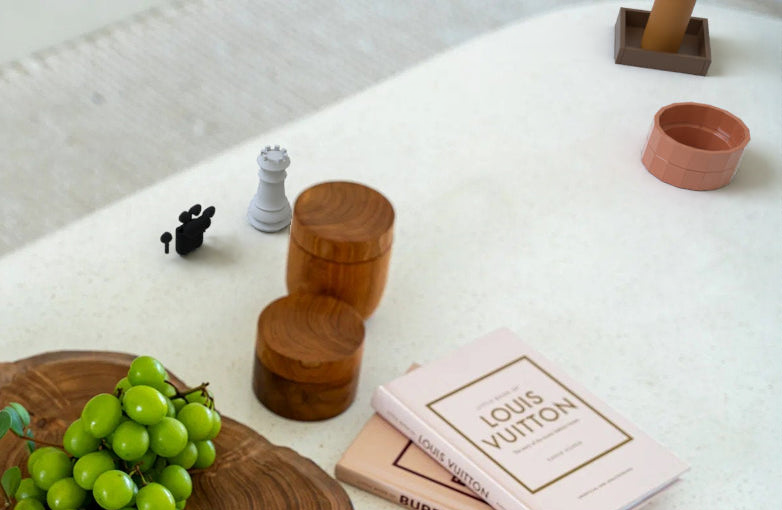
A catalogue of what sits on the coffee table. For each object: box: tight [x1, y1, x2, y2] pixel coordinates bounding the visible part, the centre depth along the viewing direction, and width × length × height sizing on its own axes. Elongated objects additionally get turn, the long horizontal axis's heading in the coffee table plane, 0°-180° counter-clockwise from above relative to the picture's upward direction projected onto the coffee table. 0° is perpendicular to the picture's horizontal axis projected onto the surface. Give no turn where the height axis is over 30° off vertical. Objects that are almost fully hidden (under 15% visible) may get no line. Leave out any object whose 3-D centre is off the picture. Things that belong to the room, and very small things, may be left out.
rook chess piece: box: [246, 144, 292, 233], centre depth 111 cm, size 4×4×8 cm
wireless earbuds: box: [159, 203, 216, 257], centre depth 109 cm, size 7×2×5 cm, turn 133°
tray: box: [613, 6, 713, 77], centre depth 137 cm, size 10×10×2 cm
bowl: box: [640, 101, 752, 192], centre depth 119 cm, size 9×9×5 cm
